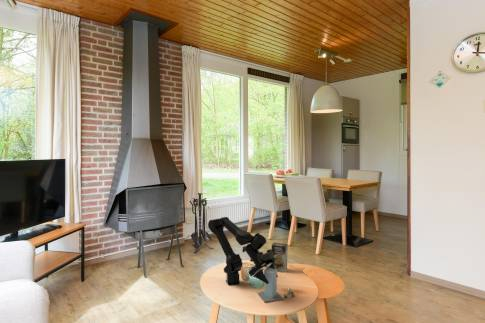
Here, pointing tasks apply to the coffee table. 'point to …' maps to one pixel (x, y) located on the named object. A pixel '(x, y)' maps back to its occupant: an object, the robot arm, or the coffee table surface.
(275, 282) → the slate block
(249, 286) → the coffee table surface
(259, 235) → the robot arm
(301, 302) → the coffee table surface
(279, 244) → the coffee box
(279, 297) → the rubber mat
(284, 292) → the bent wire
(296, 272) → the coffee table surface
